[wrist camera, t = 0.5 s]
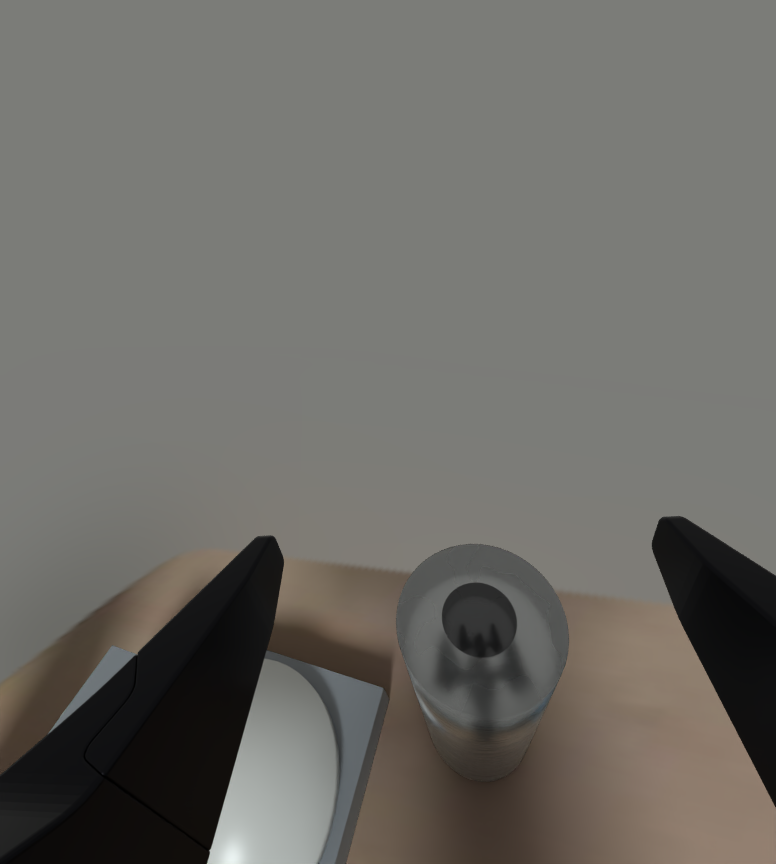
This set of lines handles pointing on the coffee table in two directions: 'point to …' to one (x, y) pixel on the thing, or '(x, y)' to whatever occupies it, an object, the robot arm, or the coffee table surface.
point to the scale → (289, 762)
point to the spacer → (481, 654)
